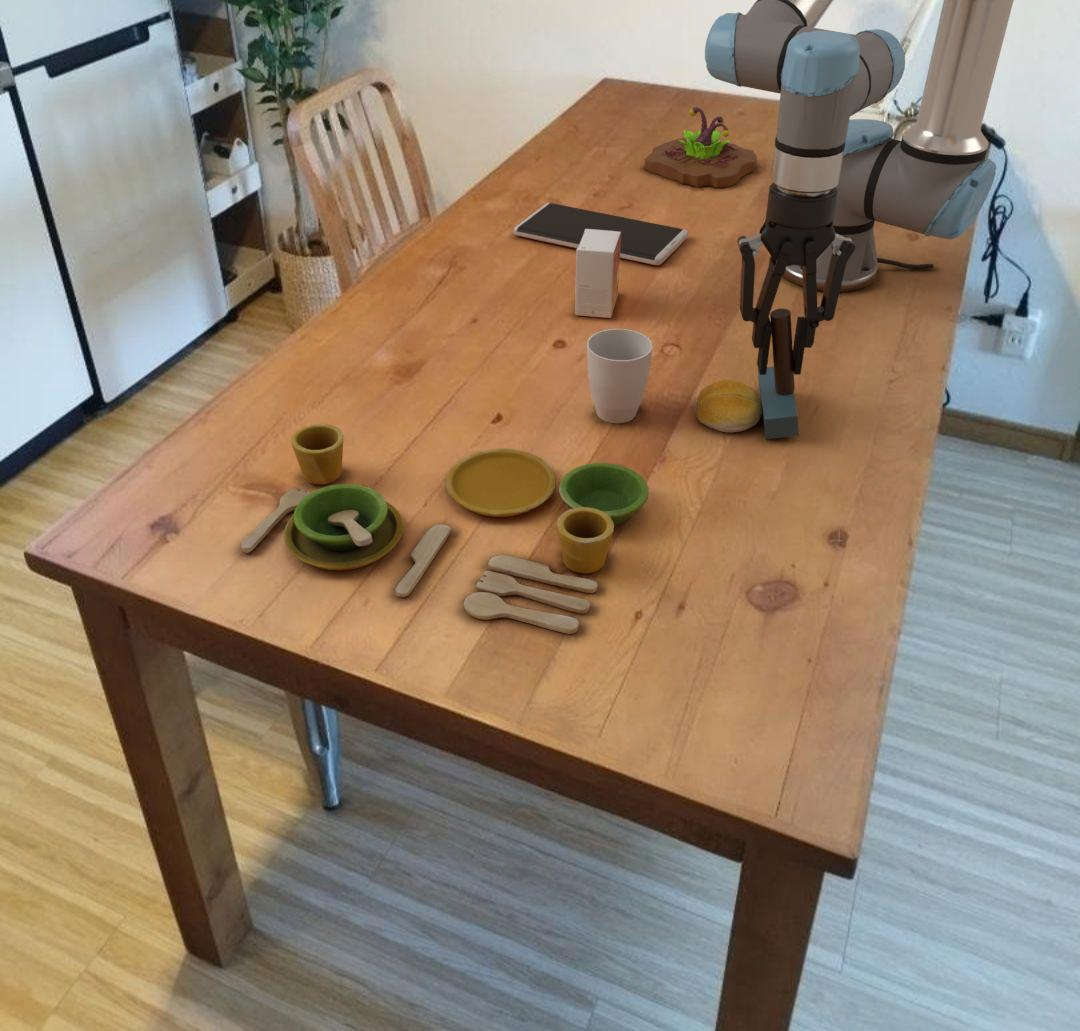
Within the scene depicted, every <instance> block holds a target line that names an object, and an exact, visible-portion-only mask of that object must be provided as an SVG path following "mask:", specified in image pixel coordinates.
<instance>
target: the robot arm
mask: <svg viewBox="0 0 1080 1031" xmlns="http://www.w3.org/2000/svg"><path fill="white" fill-rule="evenodd" d="M834 1H835V0H756V1H755V2H754V3H753V5H751V7H750V9H749V10H748V11H747V13H746V14H743V13H742V12H739V11H738V12H726V13H724V14H721V15H719V16H718V17H717V18H716V19H715V21H714V22H713V23H712V25H711V27H710V29H709V31H708V34H707V36H706V40H705V46H704V60H705V63H706V64H705V66H706V70H707V72H708V74H709V75H710V77H711V78H714V79H715V80H718V81H722V82H724V83H728V84H731V85H734V86H736V87H739V88H741V87H744V88H749V89H754V90H759V91H764V92H770V93H774V94H780V95H779V104H778V105H779V106H778V114H777V126H776V134H775V138H774V147H773V148H774V149H773V156H772V164H771V172H770V181H771V182H772V183H771V184H770V185H769V187H768V194H767V195H768V196H767V203H766V212H765V220H764V222H763V224H762V226H761V227H760V229H759V231H758V232H759V233H756V234H753V235H751V236H749V237H747V236H746V235H741V236H739V237H738V238H737V240H736V241H737V246H738V248H739V252H740V255H741V268H740V289H739V290H740V293H739V312H740V315H741V319H742V320H743V321H744V322H751V323H753V324H752V333H751V341H752V345H753V347H754V349H758V351H757V359H756V366H757V371H758V370H759V373H760V375H766V371H767V367H768V362H769V354H770V348H771V342H772V334H771V333H772V325H771V319H770V313H771V312H772V308H773V305H774V302H775V298H776V296H777V292H778V289H779V287H780V283H781V280H782V277H784V278H785V279H787V280H788V281H790V282H791V283H793V284H796V285H798V286H800V287H802V295H803V313H804V316H797V318H796V324H795V332H794V339H793V344H792V347H793V372H794V376H796V375H799V376H800V375H801V373H802V368H803V361H804V354H805V349H806V348H807V349H808V348H812V347H813V345H814V342H815V336H816V329H817V328H818V327H819V326H820V322H823V321H825V322H829V321H833V319H834V317H835V313H836V310H837V304H838V301H839V297H840V293H844V292H853V291H858V290H861V289H863V288H866V287H869V285H871V284H872V283H874V282H875V280H876V277H877V273H878V267H879V264H884V265H890V266H894V267H898V268H903V269H909V270H927V269H934V263H921V264H919V263H918V264H912V263H905V262H901V261H897V260H893V259H887V258H883V257H878V256H877V249H876V248H877V247H876V242H875V235H874V234H875V233H874V228H875V222H877V223H880V224H885V225H889V226H893V227H897V228H900V229H903V230H907V231H911V232H914V233H917V234H921V235H924V236H925V237H934V238H940V239H945V240H954V239H958V238H959V237H960V236H962V235H963V234H964V233H965V232H967V230H968V229H969V228H970V227H971V226H972V224H973V223H974V221H975V220H976V218H977V217H978V215H979V213H980V212H981V210H982V208H983V206H984V204H985V202H986V200H987V198H988V196H989V193H990V192H991V189H992V186H993V183H994V181H995V178H996V171H997V164H996V162H995V161H993V160H992V159H990V158H986V155H987V151H988V148H989V140H987V138H986V136H985V135H984V134H983V132H982V125H983V121H984V117H985V114H986V109H987V105H988V102H989V97H990V94H991V90H992V86H993V82H994V78H995V75H996V70H997V67H998V62H999V58H1000V55H1001V51H1002V47H1003V44H1004V40H1005V35H1006V33H1007V32H1006V31H1007V28H1008V25H1009V20H1010V16H1011V13H1012V9H1013V5H1014V0H943V1H942V5H941V10H940V14H939V18H938V22H937V23H938V24H937V28H936V33H935V37H934V41H933V47H932V51H931V56H930V61H929V64H928V68H927V73H926V79H925V82H924V87H923V91H922V96H921V101H920V104H919V110H918V115H917V118H916V122H915V123H914V124H913V125H911V126H910V127H909V128H907V129H906V130H905V131H903V132H902V135H901V140H898V139H895V138H894V136H895V132H894V128H893V126H892V125H891V124H890V123H888V122H886V121H883V120H878V119H870V118H869V119H868V118H855V119H854V118H852V119H851V117H852V116H854V115H855V114H857V113H859V112H860V111H862V110H864V109H866V108H868V107H870V106H873V105H874V104H878V103H879V102H881V101H882V100H883V99H884V98H886V97H887V95H888V94H889V93H891V92H892V91H894V89H896V87H897V86H898V85H899V83H900V82H901V80H902V78H903V75H904V72H905V68H906V54H905V50H904V48H903V46H902V44H901V42H900V41H899V39H898V38H897V37H896V36H895V35H893V34H892V33H891V32H889V31H887V30H885V29H877V28H875V29H874V28H873V29H865V30H861V31H859V32H858V33H856V34H852V33H847V32H841V31H835V30H831V29H830V30H829V29H823V28H817V25H818V24H819V22H820V21H821V19H822V18H823V16H824V15H825V14H826V12H827V11H828V9H830V7H831V5H832V3H834ZM762 245H763V246H764V248H765V249H766V251H767V252H768V254H769V255H770V256H769V260H768V267H767V270H766V274H765V276H764V279H763V282H762V286H761V289H760V291H759V295H758V298H757V301H756V305H755V307H754V295H755V294H754V293H755V277H756V276H755V273H756V262H755V257H756V256H758V254H759V253H760V247H761V246H762ZM818 291H821V292H822V295H821V301H820V305H819V306H818Z"/></svg>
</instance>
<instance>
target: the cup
mask: <svg viewBox="0 0 1080 1031" xmlns="http://www.w3.org/2000/svg"><path fill="white" fill-rule="evenodd" d="M652 354H653V342H652V340H651V338H649V337H648V336H647V335H645V334H643V333H642V332H639V331H636V330H633V329H627V328H609V329H603V330H600V331H597V332H595V333H594V334H592V335H591V336H590V337H589V338H588V339H587V341H586V356H587V357H586V358H587V376H588V382H589V389H590V390H589V391H590V395H591V400H592V403H593V406H594V408H595V413H596V415H597V417H598V418H599V419H600V420H601V421H603V422H605V423H609V424H624V423H629V422H631V421H632V420H633V419H634V418H635V417H636V415H637V413H638V410H639V408H640V406H641V404H642V401H643V398H644V395H645V391H646V387H647V383H648V379H649V375H650V368H651V362H652V356H653V355H652Z"/></svg>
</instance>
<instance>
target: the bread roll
mask: <svg viewBox="0 0 1080 1031" xmlns="http://www.w3.org/2000/svg"><path fill="white" fill-rule="evenodd" d="M696 399H697V400H696V403H697V410H696V417H697V420H698V421H699V422H700V424H703V425H704V426H705V427H708V428H710V429H712V430H715V431H718V432H721V433H728V434H729V433H739V432H743V431H746V430H749V429H751V428H753V427H754V426H757V425H758V423H759V421H760V420H761V418H762V416H763V413H762V405H761V399H760V396H759V395H758V394H757V393H756V391H755V390H754V389H753V387H751V386H750V385H748V384H746V383H745V382H743V381H741V380H735V379H720V380H717V381H714V382H711V383H709V384H708V385H706V386H705V387H703V388H702V389H701V390H700V391H699V393H698V395H697V398H696Z"/></svg>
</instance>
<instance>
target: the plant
mask: <svg viewBox="0 0 1080 1031" xmlns="http://www.w3.org/2000/svg"><path fill="white" fill-rule="evenodd" d="M688 112H689V113H688V114H689V116H691V117H694V116H696V115H697V114H698V112H699V114H700V118H701V125H700V128H698V129H697V130H696V132H695V133H694V132H692V131H690V130H687V129H684V131H683V137H679V138H675V139H672V140H669V141H666V142H664V143H662V144H660V145H659V144H658V145H657V146H654V147H653V148H652V152H651V153H649V155H647V156H646V157H645V161H644V170H646V171H648V172H649V173H652V174H654V175H655V174H656V175H658V176H661V177H663V178H666V179H668V180H672V181H677V182H678V183H679V182H680V184H682V185H690V186H693V187H696V188H702V187H714V188H717V189H719V188H720V189H721V188H728V187H733V186H734V185H736V184H737V183H738V182H739V180H740V179H741V178H743V177H745V176H746V175H748V174H751V173H753V172H755V171H756V166H757V155H756V153H755V151H754V149H749V148H744V147H741V146H739V145H737V144H735V143H731V140H732V139H724V140H720V138H722V136H723V137H725V138H728V136H730V130H729V128H728V127H727V125H725V118H724V117H723V116H716V117H714V118H713V119H712V120H711V123H710V125H709V126H708V121H707V116H706V115H705V113H704V112H705V111H704V110H703V109H702V108H700V107H698V106H694V107H692V108H690V109H689V111H688ZM716 122H717V123H716ZM720 127H722V133H721V132H719V130H718V129H717V128H720Z"/></svg>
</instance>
